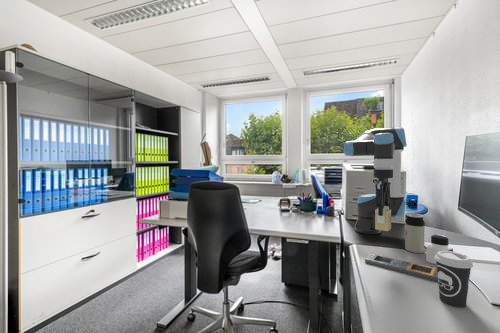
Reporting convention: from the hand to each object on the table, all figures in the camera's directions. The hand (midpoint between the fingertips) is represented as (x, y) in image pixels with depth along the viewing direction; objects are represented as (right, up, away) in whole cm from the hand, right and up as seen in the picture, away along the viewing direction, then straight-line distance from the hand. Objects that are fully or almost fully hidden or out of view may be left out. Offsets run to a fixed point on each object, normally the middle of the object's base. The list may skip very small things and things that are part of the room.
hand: (383, 221), depth 108 cm
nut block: (0, -3, 0) cm, 3 cm away
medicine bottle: (+25, -18, 0) cm, 31 cm away
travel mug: (+24, -18, +15) cm, 34 cm away
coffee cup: (+6, -19, -29) cm, 36 cm away
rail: (+5, -19, -4) cm, 20 cm away
